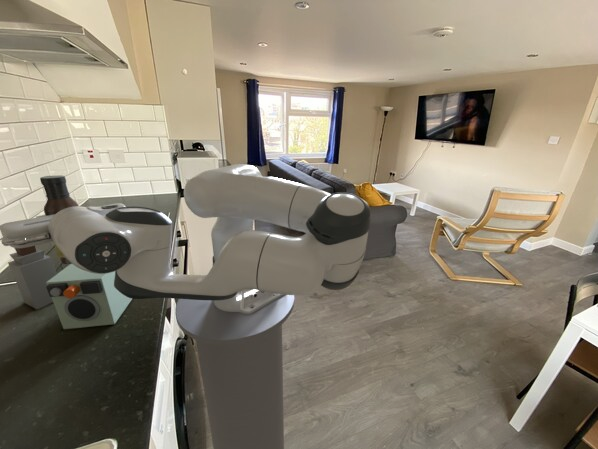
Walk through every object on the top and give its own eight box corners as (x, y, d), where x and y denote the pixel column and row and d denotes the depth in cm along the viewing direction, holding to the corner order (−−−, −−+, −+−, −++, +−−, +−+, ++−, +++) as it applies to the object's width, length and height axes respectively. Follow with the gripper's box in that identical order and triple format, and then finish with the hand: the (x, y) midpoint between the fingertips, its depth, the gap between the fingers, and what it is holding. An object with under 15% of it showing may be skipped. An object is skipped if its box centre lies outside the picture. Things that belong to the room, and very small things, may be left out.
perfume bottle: (64, 296, 80) (45, 242, 74) (36, 309, 74) (13, 252, 68) (53, 290, 83) (33, 238, 76) (25, 303, 77) (1, 247, 71)
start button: (76, 297, 62) (73, 289, 61) (64, 298, 62) (61, 290, 61) (81, 292, 64) (78, 284, 63) (70, 293, 63) (67, 285, 63)
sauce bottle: (88, 263, 61) (61, 178, 54) (55, 267, 59) (23, 180, 52) (98, 251, 67) (75, 173, 60) (68, 255, 65) (41, 174, 58)
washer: (111, 328, 67) (97, 282, 63) (59, 334, 66) (40, 286, 61) (133, 296, 80) (123, 256, 75) (90, 300, 78) (76, 259, 73)
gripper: (9, 263, 45) (2, 241, 53) (139, 230, 60) (117, 217, 68) (-5, 229, 43) (-10, 212, 51) (133, 203, 57) (111, 193, 66)
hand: (64, 215), depth 59 cm, fingers closed on sauce bottle, 6 cm apart
